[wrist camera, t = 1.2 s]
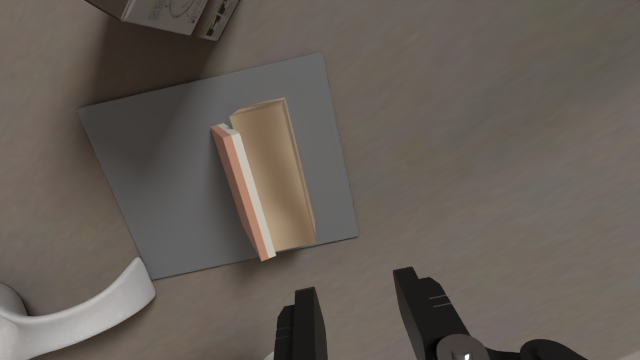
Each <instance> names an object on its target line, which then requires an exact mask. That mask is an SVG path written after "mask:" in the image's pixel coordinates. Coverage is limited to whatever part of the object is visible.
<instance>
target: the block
mask: <svg viewBox="0 0 640 360" xmlns="http://www.w3.org/2000/svg"><path fill="white" fill-rule="evenodd" d="M229 117H230V120H231V123H232V127H233V129H234V130H235V131H237V132H239V133H240V136H241V140H242V143H243V146H244V150H245V153H246V156H247V160H248V163H249V166H250V170H251V173H252V177H253V180H254V183H255V187H256V190H257V193H258V197H259V200H260V203H261V207H262V210H263V213H264V217H265V220H266V223H267V227H268V230H269V233H270V237H271V240H272V244H273V247H274V250H275V252H276V251H281V250H286V249H290V248H295V247H300V246H304V245H309V244H314V243H316V234H315V218H314V213H313V209H312V205H311V201H310V197H309V193H308V189H307V185H306V181H305V177H304V173H303V169H302V165H301V161H300V157H299V153H298V149H297V144H296V140H295V136H294V132H293V128H292V124H291V120H290V116H289V112H288V108H287V104H286V100H285V98H280V99H276V100H272V101H267V102H263V103H258V104H254V105H250V106H245V107H241V108H240V109H238V110H237V111H236V112H234V113H233V114H232V115H231V116H229Z"/></svg>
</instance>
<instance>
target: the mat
mask: <svg viewBox="0 0 640 360" xmlns="http://www.w3.org/2000/svg"><path fill="white" fill-rule="evenodd" d="M280 98H285V100H286V104H287V108H288V112H289V116H290V120H291V124H292V128H293V132H294V136H295V140H296V144H297V149H298V153H299V157H300V161H301V165H302V169H303V173H304V177H305V181H306V185H307V189H308V193H309V197H310V201H311V205H312V209H313V213H314V218H315V234H316V243H314V244H309V245H304V246H300V247H295V248H290V249H286V250H281V251H276V252H275V254H277V253H281V252H286V251H291V250H296V249H300V248H305V247H310V246H314V245H319V244H324V243H329V242H333V241H338V240H343V239H347V238H352V237H357V236H359V231H358V226H357V221H356V216H355V211H354V206H353V201H352V197H351V192H350V187H349V182H348V177H347V172H346V167H345V162H344V157H343V152H342V147H341V142H340V138H339V133H338V128H337V123H336V118H335V113H334V108H333V103H332V98H331V93H330V88H329V83H328V78H327V74H326V69H325V64H324V59H323V54H322V52H319V53H315V54H310V55H306V56H302V57H297V58H293V59H289V60H284V61H280V62H276V63H271V64H267V65H263V66H259V67H254V68H250V69H246V70H241V71H237V72H233V73H228V74H224V75H220V76H215V77H211V78H207V79H202V80H198V81H194V82H189V83H185V84H181V85H177V86H172V87H168V88H164V89H159V90H155V91H151V92H146V93H142V94H138V95H133V96H129V97H125V98H120V99H116V100H112V101H107V102H103V103H99V104H95V105H90V106H86V107H82V108H77V109H76V111H77V114H78V116H79V118H80V120H81V123H82V125H83V127H84V129H85V132H86V134H87V136H88V138H89V141H90V143H91V145H92V147H93V150H94V152H95V154H96V156H97V159H98V161H99V163H100V165H101V168H102V170H103V172H104V174H105V177H106V179H107V181H108V183H109V185H110V188H111V190H112V192H113V194H114V197H115V199H116V201H117V203H118V206H119V208H120V210H121V212H122V215H123V217H124V219H125V221H126V224H127V226H128V228H129V230H130V233H131V235H132V237H133V239H134V242H135V244H136V246H137V248H138V251H139V253H140V255H141V257H142V259H143V262H144V264H145V266H146V268H147V271H148V273H149V275H150V277H151V280H154V279H159V278H164V277H168V276H173V275H178V274H182V273H187V272H192V271H197V270H201V269H206V268H211V267H215V266H220V265H225V264H230V263H234V262H239V261H244V260H248V259H253V258H258V257H259V256H258V254H257V252H256V250H255V248H254V246H253V245H252V243H251V241H250V239H249V237H248V235H247V233H246V232H245V230H244V228H243V226H242V223H241V220H240V217H239V214H238V211H237V208H236V204H235V201H234V198H233V195H232V192H231V189H230V186H229V183H228V180H227V177H226V174H225V171H224V168H223V164H222V161H221V158H220V155H219V152H218V149H217V146H216V143H215V140H214V137H213V134H212V131H211V126H215V125H219V124H222V123H224V124H226V125H227V126H229V127H230V128H232V129H233V127H232V123H231V120H230V117H229V116H231V115H232V114H233V113H234V112H236V111H237V110H238V109H240V108H241V107H245V106H250V105H254V104H258V103H263V102H267V101H272V100H276V99H280Z"/></svg>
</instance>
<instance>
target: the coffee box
mask: <svg viewBox="0 0 640 360" xmlns="http://www.w3.org/2000/svg"><path fill="white" fill-rule="evenodd" d="M85 1H86V2H88V3H90V4H91V5H93V6H95V7H97V8H98V9H100V10H102V11H103V12H105V13H107V14H108V15H110V16H112V17H114V18H115V19H117V20H119V21H121V22H129V23H133V24H138V25H142V26H146V27H151V28H155V29H161V30H165V31H170V32H174V33H178V34H183V35H189V36H194V37H199V38H203V39H208V40H212V41H217V40H218V39H219V37H220V35H221V33H222V31H223V29H224V27H225V25H226V24H227V22H228V20H229V18H230V16H231V14H232V12H233V10H234V8H235V6H236V4H237V3H238V1H239V0H85Z"/></svg>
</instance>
